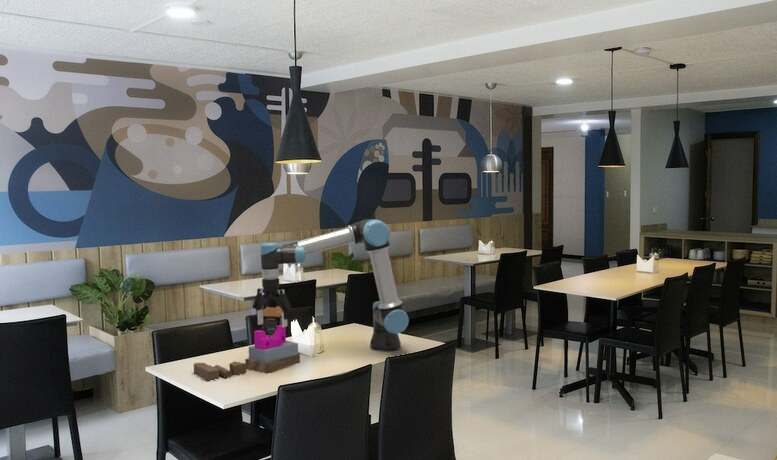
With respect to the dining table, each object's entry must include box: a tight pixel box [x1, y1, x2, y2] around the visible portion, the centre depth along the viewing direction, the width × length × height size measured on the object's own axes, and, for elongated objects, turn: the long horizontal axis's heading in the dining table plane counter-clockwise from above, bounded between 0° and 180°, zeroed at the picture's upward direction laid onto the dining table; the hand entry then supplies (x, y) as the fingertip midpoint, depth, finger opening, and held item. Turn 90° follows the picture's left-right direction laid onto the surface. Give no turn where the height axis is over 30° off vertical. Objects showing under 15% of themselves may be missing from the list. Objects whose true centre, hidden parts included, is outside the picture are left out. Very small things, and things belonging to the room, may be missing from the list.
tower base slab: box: [244, 352, 301, 374], centre depth 288 cm, size 14×20×5 cm
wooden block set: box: [193, 361, 247, 382], centre depth 277 cm, size 17×6×18 cm
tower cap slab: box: [248, 340, 299, 363], centre depth 288 cm, size 12×18×5 cm, turn 137°
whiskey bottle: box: [261, 299, 283, 338], centre depth 314 cm, size 10×10×32 cm
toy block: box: [253, 325, 287, 350], centre depth 286 cm, size 15×6×8 cm, turn 142°
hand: (272, 325), depth 287 cm, fingers open, 13 cm apart
